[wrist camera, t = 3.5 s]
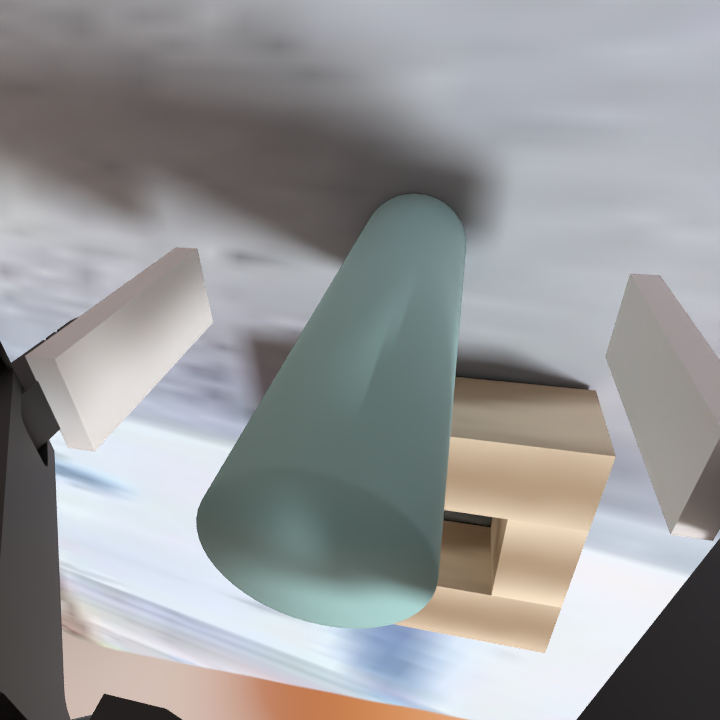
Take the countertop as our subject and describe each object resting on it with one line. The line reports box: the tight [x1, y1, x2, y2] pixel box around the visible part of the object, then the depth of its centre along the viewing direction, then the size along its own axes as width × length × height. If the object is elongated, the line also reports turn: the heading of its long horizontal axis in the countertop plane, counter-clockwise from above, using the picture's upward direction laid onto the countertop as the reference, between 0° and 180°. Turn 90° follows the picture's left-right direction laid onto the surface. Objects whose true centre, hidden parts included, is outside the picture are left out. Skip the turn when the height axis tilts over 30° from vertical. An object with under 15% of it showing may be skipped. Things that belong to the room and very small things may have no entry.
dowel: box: [196, 194, 466, 628], centre depth 14 cm, size 4×4×14 cm
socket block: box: [394, 377, 616, 653], centre depth 25 cm, size 14×12×4 cm
